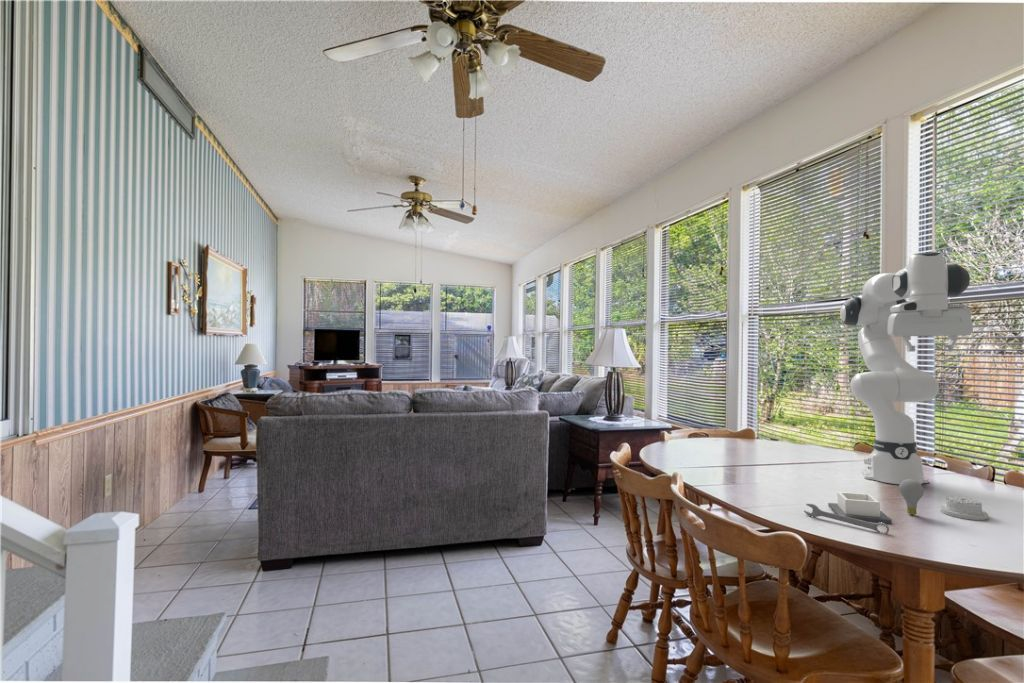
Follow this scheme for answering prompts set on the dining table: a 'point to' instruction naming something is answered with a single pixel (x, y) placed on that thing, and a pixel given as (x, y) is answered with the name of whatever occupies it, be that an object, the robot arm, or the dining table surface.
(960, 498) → the mechanical component
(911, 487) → the light bulb
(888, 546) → the dining table surface
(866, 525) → the combination wrench
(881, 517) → the lamp base
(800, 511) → the dining table surface
